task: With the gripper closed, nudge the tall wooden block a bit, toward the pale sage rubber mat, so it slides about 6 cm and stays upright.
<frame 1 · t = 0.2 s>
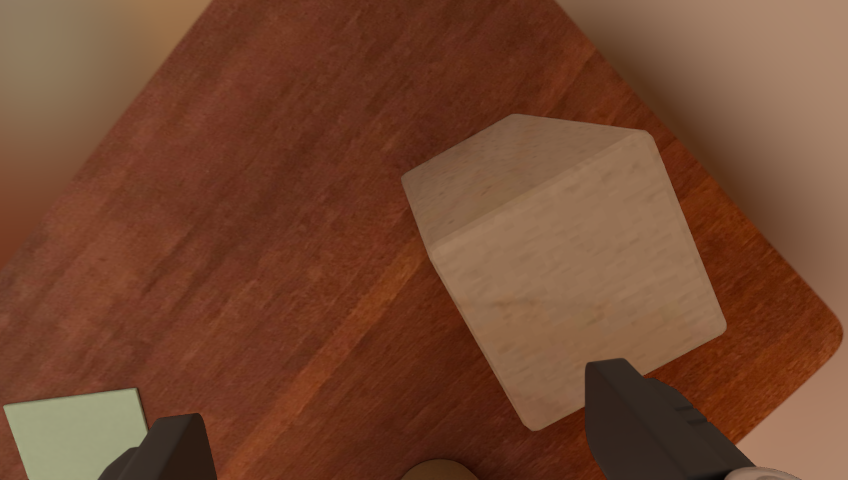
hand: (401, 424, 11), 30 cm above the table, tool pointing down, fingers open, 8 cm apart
mat: (91, 459, 44), on the table
wooden block: (485, 200, 41), on the table
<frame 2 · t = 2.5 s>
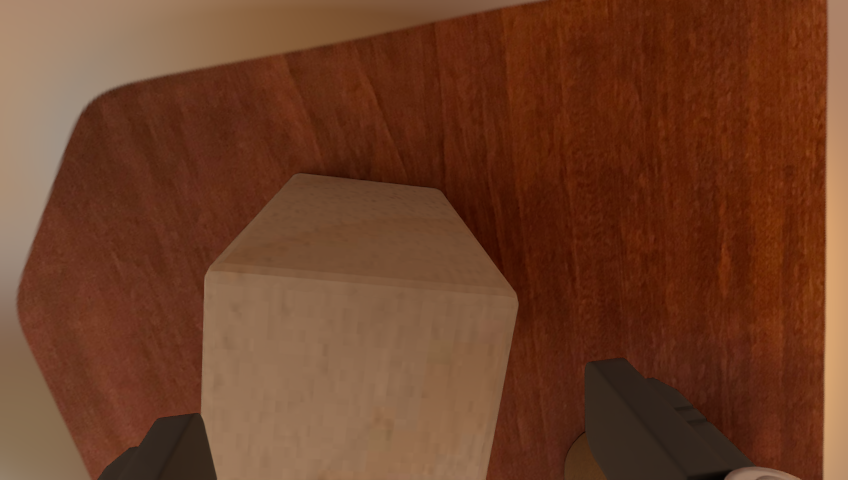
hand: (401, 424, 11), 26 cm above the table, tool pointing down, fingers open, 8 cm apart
wooden block: (361, 250, 37), on the table
plant pot: (604, 457, 44), on the table
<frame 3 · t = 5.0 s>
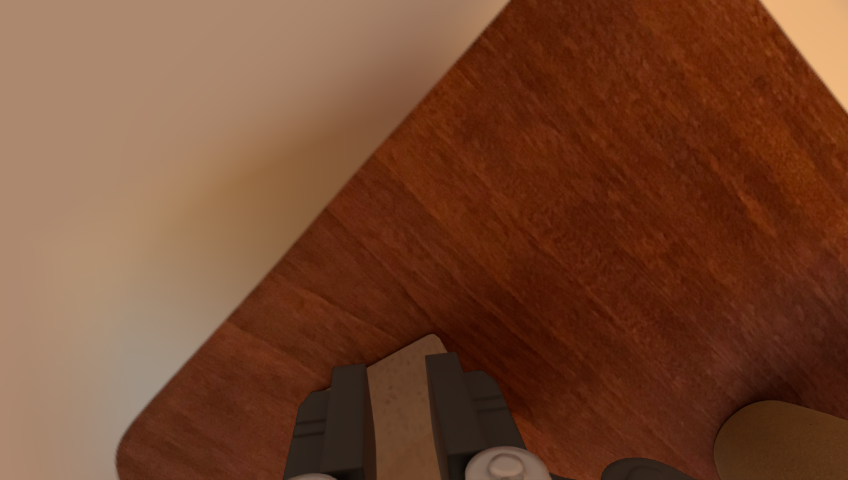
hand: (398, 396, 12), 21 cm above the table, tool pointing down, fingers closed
wooden block: (404, 418, 37), on the table
plant pot: (753, 440, 40), on the table
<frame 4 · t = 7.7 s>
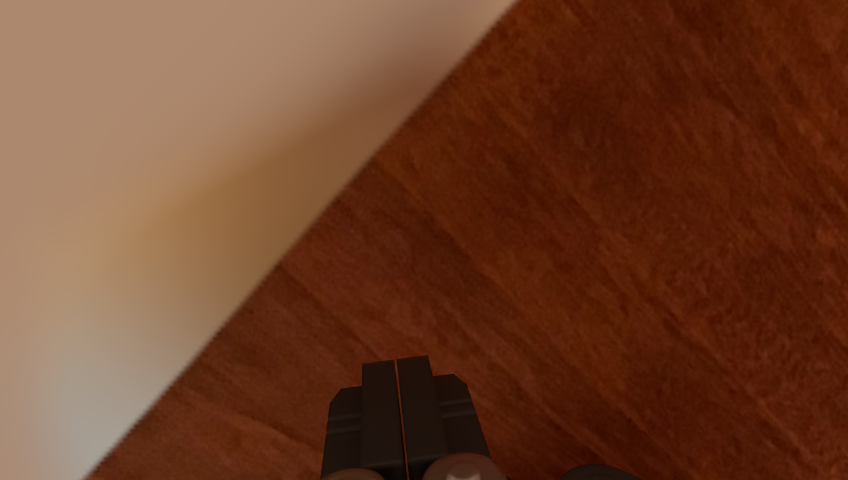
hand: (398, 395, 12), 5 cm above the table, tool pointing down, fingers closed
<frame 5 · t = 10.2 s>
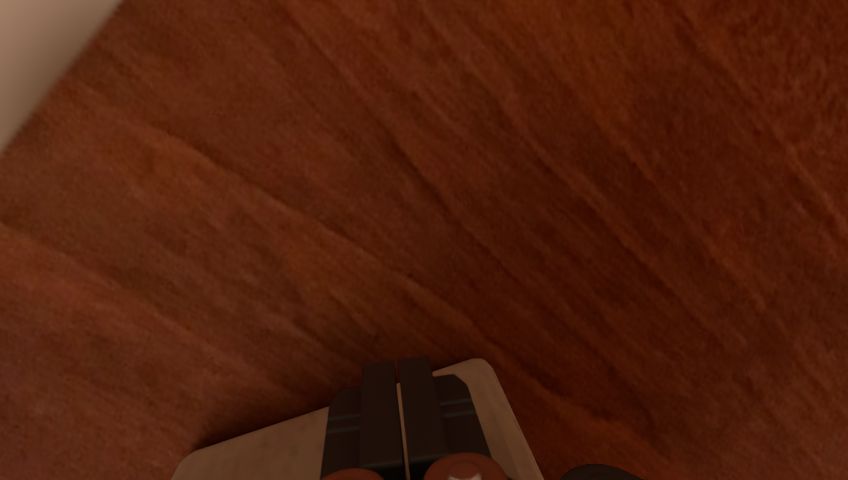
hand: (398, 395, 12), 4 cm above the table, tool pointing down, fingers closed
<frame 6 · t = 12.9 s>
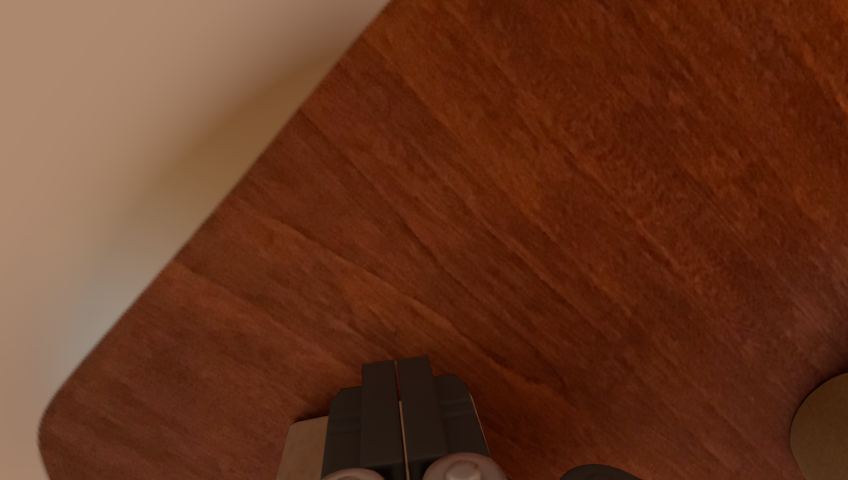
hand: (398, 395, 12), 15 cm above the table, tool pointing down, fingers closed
wooden block: (395, 474, 30), on the table
plant pot: (839, 421, 32), on the table
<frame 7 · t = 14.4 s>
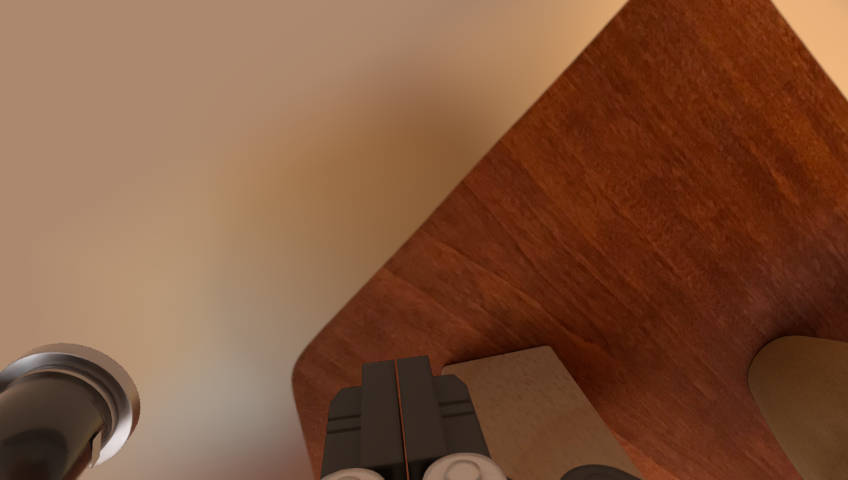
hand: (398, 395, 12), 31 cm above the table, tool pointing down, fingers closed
wooden block: (501, 400, 49), on the table
plant pot: (779, 368, 51), on the table
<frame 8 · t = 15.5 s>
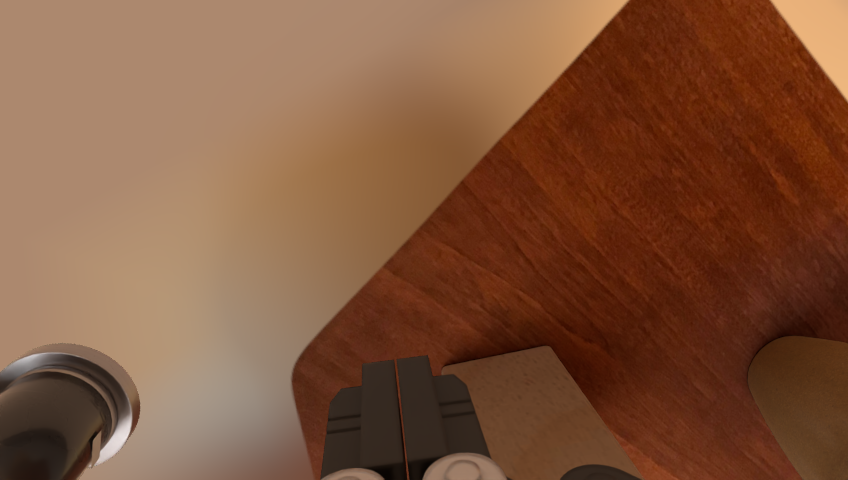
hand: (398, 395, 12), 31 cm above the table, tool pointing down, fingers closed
wooden block: (501, 400, 49), on the table
plant pot: (779, 368, 51), on the table
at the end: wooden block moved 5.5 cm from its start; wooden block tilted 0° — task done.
